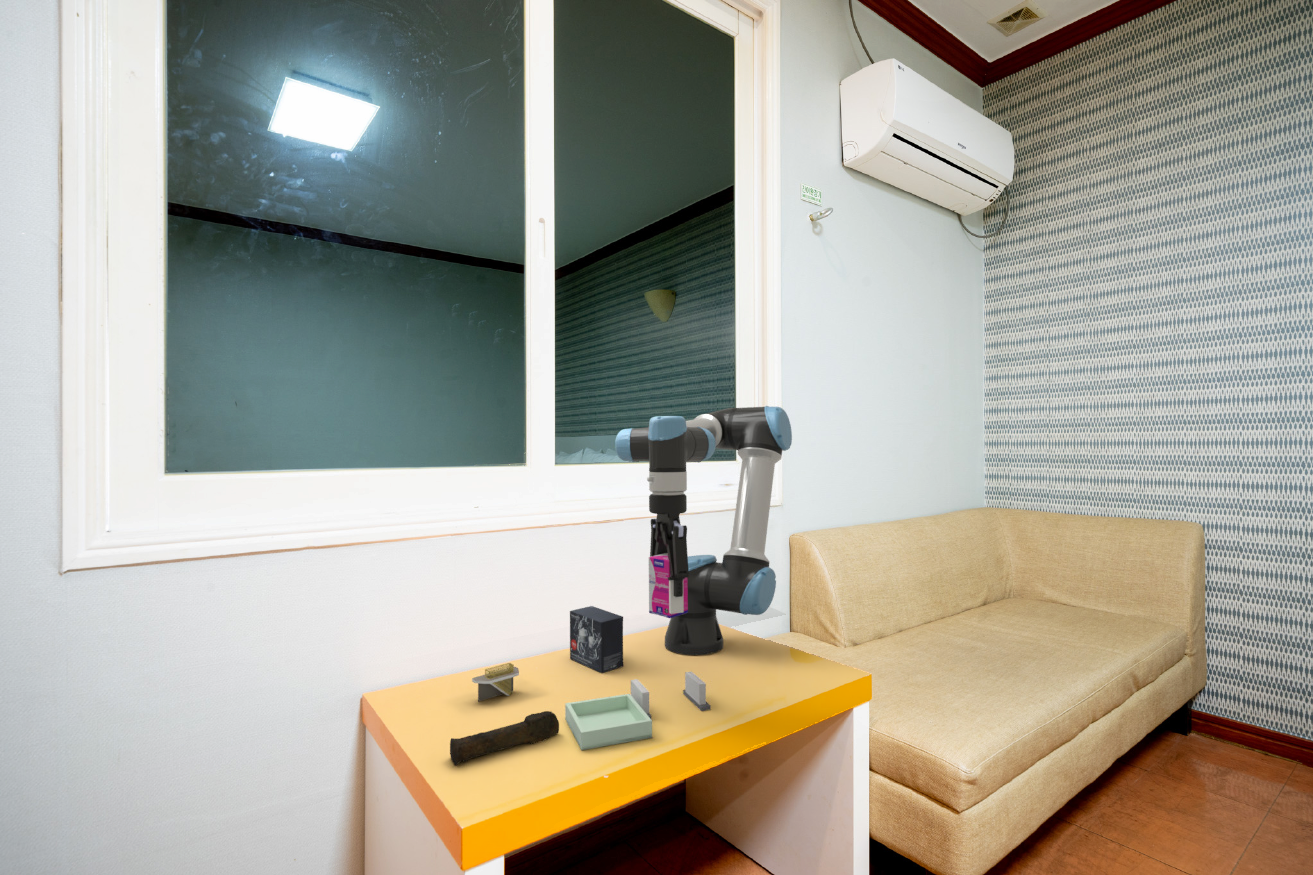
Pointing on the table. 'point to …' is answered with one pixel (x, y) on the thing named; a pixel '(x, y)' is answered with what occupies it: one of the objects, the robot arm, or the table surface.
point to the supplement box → (662, 587)
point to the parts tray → (607, 721)
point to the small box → (596, 638)
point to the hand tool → (505, 737)
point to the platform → (496, 681)
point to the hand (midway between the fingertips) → (668, 607)
